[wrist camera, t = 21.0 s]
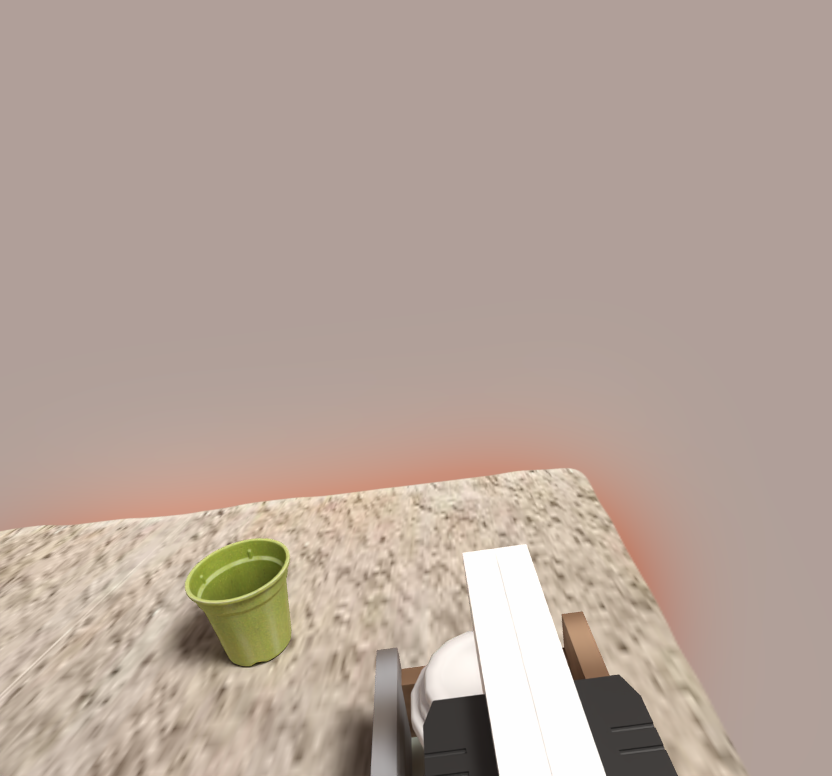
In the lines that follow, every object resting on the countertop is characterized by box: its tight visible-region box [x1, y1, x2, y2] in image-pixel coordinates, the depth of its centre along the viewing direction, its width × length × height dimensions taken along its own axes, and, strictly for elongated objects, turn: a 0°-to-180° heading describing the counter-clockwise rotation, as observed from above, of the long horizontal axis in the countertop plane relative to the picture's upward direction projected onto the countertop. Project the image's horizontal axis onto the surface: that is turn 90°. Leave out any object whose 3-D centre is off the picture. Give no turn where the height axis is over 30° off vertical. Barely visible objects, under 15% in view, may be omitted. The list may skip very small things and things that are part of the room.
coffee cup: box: [411, 631, 483, 749], centre depth 36 cm, size 9×9×12 cm
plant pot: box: [185, 538, 291, 666], centre depth 56 cm, size 9×9×9 cm
